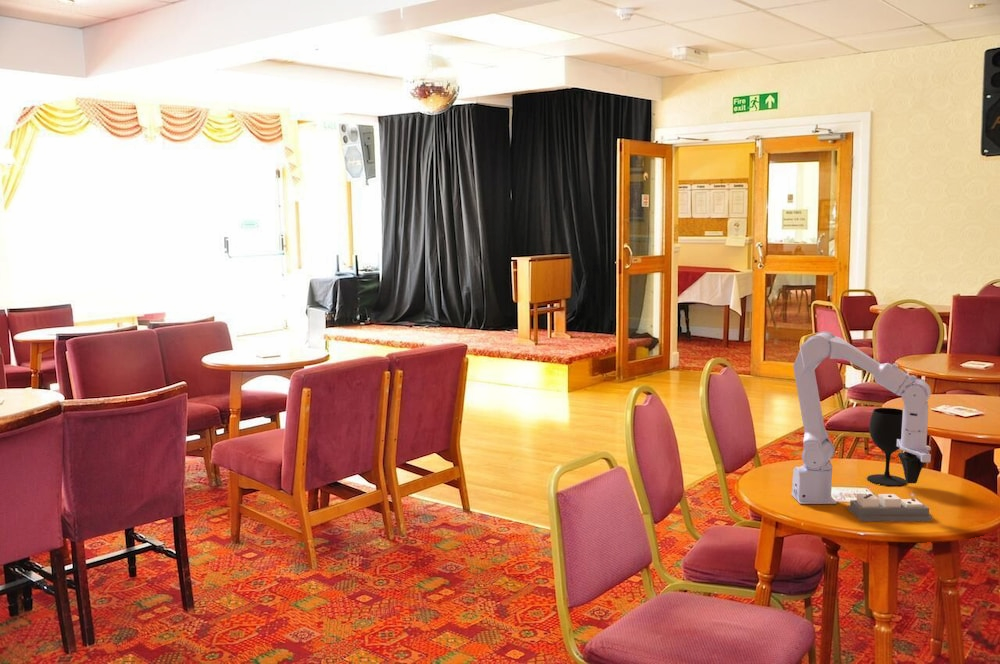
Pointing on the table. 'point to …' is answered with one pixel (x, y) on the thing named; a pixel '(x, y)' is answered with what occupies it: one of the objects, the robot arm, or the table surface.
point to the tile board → (889, 513)
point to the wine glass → (886, 441)
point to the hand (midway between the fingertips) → (911, 482)
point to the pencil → (918, 500)
